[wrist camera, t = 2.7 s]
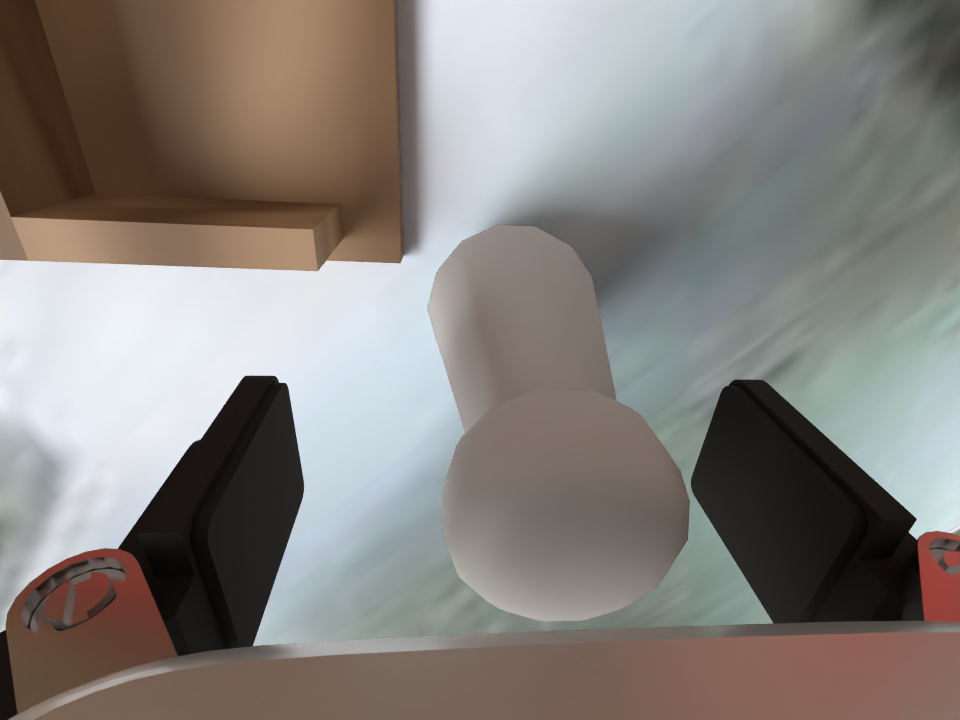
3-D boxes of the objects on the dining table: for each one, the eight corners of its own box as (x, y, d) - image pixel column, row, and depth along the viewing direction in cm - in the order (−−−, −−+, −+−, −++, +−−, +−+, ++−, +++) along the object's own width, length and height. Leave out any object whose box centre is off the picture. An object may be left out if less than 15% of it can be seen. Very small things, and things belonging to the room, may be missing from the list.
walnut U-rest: (390, -196, 13) (361, -318, 9) (403, 256, 18) (388, 298, 15) (-102, -241, 12) (-361, -393, 8) (71, 243, 18) (-34, 285, 14)
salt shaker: (550, 363, 21) (659, 687, 10) (418, 334, 20) (366, 654, 9) (601, 231, 18) (836, 463, 7) (452, 190, 17) (439, 381, 6)
